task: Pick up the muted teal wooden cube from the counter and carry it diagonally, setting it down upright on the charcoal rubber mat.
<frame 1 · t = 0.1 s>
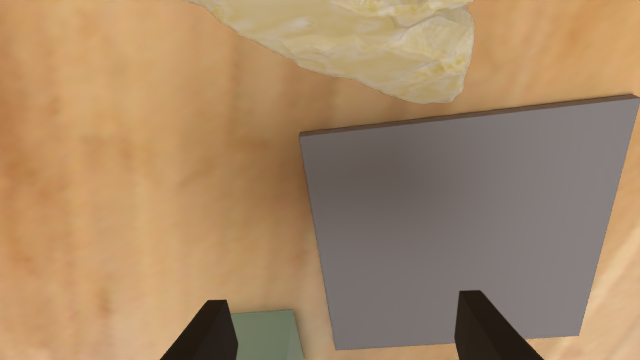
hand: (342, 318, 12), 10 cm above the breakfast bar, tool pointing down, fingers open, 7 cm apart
block: (264, 336, 27), on the breakfast bar
mat: (454, 243, 23), on the breakfast bar
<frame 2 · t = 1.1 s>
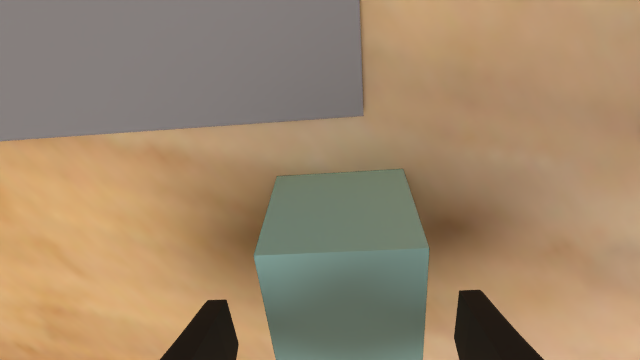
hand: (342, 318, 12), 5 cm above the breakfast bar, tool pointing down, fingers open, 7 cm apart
block: (342, 223, 17), on the breakfast bar
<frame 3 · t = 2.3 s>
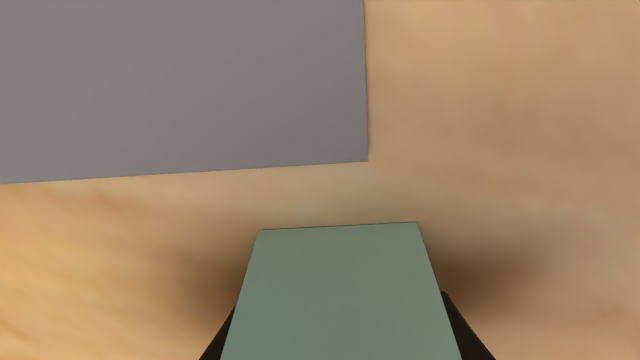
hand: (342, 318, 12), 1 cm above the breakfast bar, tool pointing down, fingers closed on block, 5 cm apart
block: (341, 285, 13), on the breakfast bar, touching gripper
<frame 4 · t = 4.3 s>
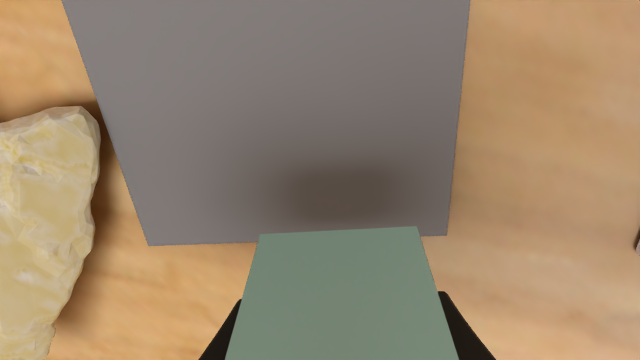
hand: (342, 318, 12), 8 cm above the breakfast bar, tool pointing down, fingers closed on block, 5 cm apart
beige lumpy piece: (57, 226, 22), on the breakfast bar
block: (342, 288, 14), point 7 cm above the breakfast bar, touching gripper
mat: (276, 89, 17), on the breakfast bar
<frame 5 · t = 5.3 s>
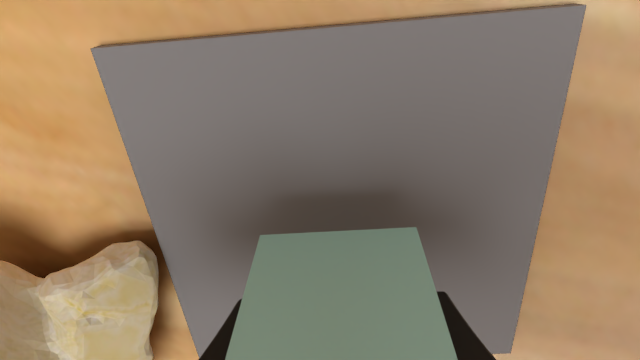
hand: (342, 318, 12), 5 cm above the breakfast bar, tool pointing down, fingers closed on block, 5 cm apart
beige lumpy piece: (108, 337, 21), on the breakfast bar
block: (341, 288, 14), point 4 cm above the breakfast bar, touching gripper
mat: (341, 222, 17), on the breakfast bar
when the fingers open (3 cm above the breakfast bar, at t = 6.1 s): block drops 1 cm, resting on mat.
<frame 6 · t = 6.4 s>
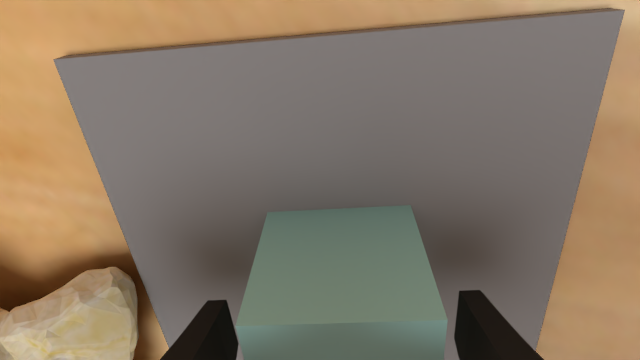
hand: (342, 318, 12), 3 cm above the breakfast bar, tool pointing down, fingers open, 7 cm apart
block: (342, 264, 15), point 1 cm above the breakfast bar, touching mat
mat: (340, 249, 15), on the breakfast bar
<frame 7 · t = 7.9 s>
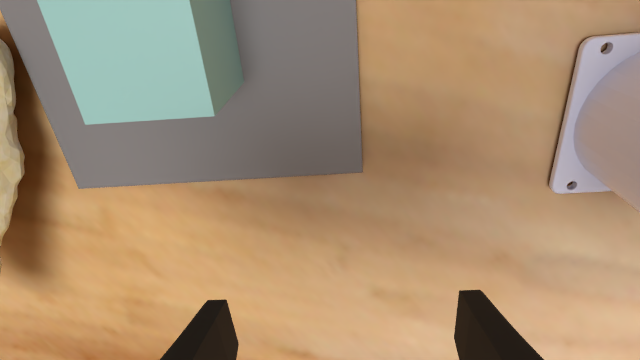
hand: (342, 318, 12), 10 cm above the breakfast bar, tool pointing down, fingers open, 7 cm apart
beige lumpy piece: (4, 170, 23), on the breakfast bar, touching mat
block: (180, 30, 18), point 1 cm above the breakfast bar, touching mat
mat: (183, 24, 18), on the breakfast bar
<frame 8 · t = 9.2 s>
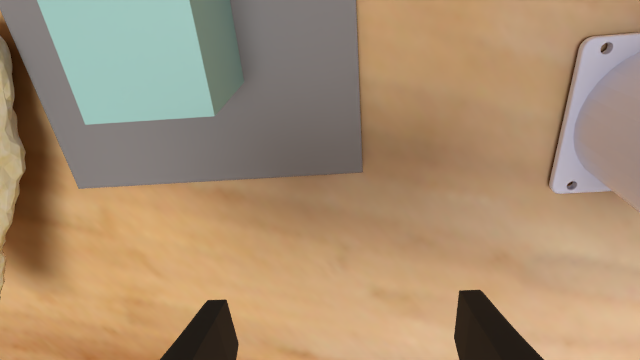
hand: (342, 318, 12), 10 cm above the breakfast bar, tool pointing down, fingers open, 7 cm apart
beige lumpy piece: (7, 168, 22), on the breakfast bar
block: (180, 30, 18), point 1 cm above the breakfast bar, touching mat
mat: (183, 24, 18), on the breakfast bar
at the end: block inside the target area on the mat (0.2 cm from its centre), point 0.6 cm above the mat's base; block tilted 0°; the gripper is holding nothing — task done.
